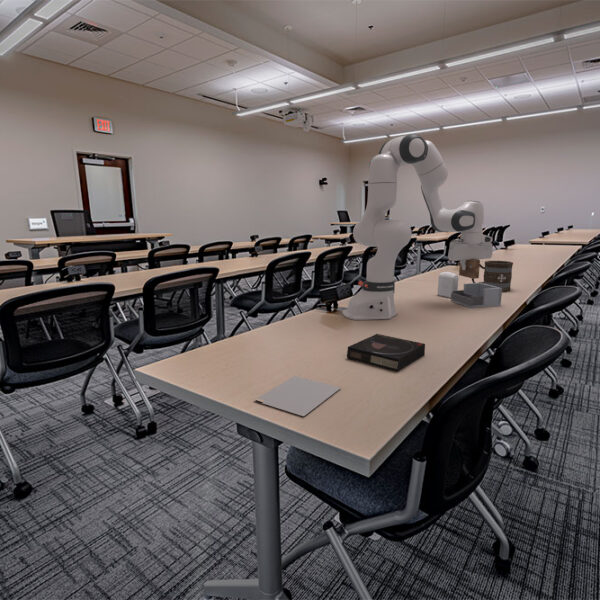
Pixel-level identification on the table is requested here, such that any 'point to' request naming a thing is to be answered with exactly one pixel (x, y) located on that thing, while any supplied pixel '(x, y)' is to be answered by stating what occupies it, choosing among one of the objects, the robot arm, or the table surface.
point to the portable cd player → (386, 352)
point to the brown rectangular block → (470, 269)
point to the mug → (498, 274)
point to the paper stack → (298, 395)
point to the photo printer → (447, 284)
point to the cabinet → (477, 295)
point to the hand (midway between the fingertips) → (469, 269)
